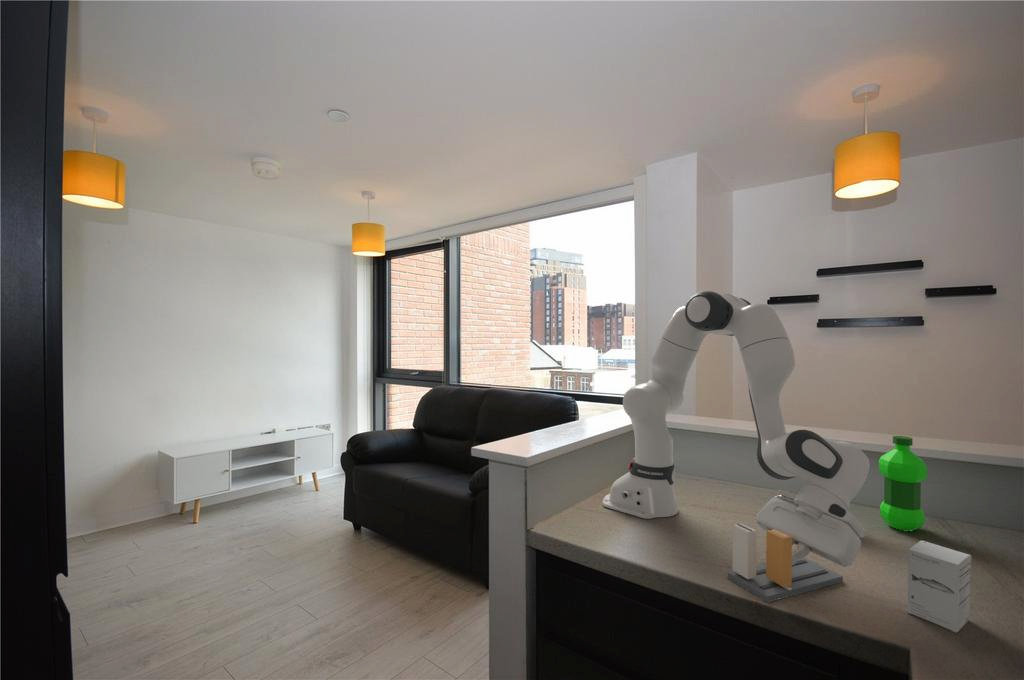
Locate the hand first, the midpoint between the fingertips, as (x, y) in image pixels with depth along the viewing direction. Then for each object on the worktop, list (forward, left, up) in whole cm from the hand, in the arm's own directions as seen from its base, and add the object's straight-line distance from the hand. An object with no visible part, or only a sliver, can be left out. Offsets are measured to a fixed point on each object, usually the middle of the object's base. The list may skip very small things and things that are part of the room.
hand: (785, 560), depth 97 cm
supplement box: (+25, +4, -6) cm, 26 cm away
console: (0, +4, -6) cm, 7 cm away
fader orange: (-1, -1, -4) cm, 4 cm away
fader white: (-8, -2, -4) cm, 9 cm away
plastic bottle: (+27, +52, -6) cm, 59 cm away
